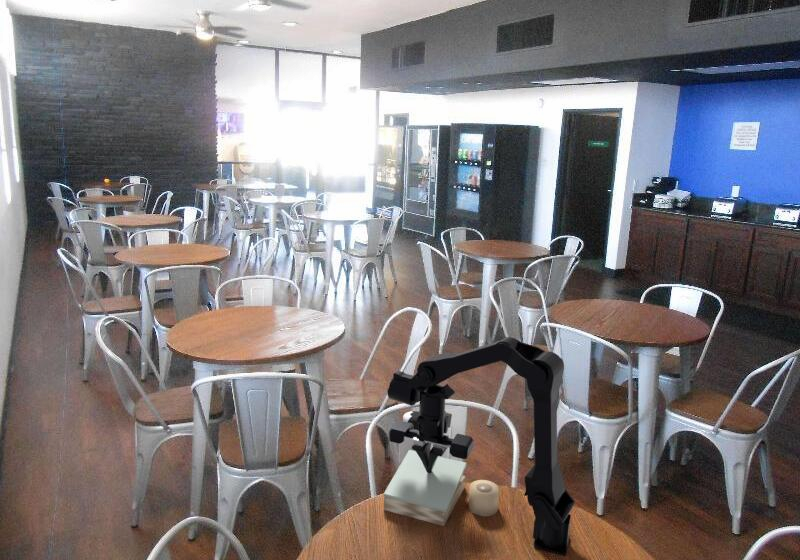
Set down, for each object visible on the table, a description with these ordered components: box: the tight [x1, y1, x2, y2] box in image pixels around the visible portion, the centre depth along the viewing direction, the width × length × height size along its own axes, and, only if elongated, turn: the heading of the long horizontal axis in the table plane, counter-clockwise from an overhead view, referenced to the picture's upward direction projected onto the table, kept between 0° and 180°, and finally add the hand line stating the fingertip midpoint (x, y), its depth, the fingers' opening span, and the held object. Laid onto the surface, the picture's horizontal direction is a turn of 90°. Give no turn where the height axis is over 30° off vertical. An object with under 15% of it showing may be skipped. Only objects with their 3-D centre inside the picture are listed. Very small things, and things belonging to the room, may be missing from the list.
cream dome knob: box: [468, 479, 500, 517], centre depth 132 cm, size 6×6×5 cm
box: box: [383, 474, 466, 527], centre depth 135 cm, size 14×16×3 cm
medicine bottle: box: [398, 410, 419, 464], centre depth 152 cm, size 7×7×12 cm
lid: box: [383, 450, 467, 512], centre depth 135 cm, size 14×16×1 cm
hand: (429, 471), depth 136 cm, fingers closed, pressing on lid
